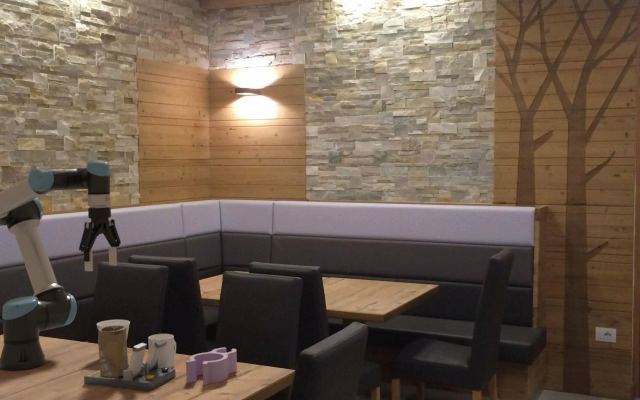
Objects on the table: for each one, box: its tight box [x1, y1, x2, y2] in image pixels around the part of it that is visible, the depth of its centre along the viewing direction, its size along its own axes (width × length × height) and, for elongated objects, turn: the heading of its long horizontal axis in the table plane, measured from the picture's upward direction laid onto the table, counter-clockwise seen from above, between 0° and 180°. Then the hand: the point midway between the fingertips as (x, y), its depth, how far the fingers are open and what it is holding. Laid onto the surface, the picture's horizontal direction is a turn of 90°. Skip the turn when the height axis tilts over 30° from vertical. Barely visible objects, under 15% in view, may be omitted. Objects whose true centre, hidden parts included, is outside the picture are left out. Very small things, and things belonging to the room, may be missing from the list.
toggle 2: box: [144, 339, 167, 369], centre depth 242 cm, size 2×5×11 cm, turn 161°
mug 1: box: [97, 325, 129, 377], centre depth 239 cm, size 9×13×15 cm
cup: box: [96, 319, 131, 340], centre depth 270 cm, size 12×12×12 cm
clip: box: [185, 347, 238, 386], centre depth 244 cm, size 20×12×7 cm, turn 153°
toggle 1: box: [128, 342, 147, 377], centre depth 234 cm, size 2×5×11 cm, turn 161°
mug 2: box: [147, 333, 177, 369], centre depth 256 cm, size 9×12×11 cm
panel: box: [83, 359, 176, 392], centre depth 240 cm, size 24×17×6 cm
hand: (101, 268), depth 254 cm, fingers open, 13 cm apart
